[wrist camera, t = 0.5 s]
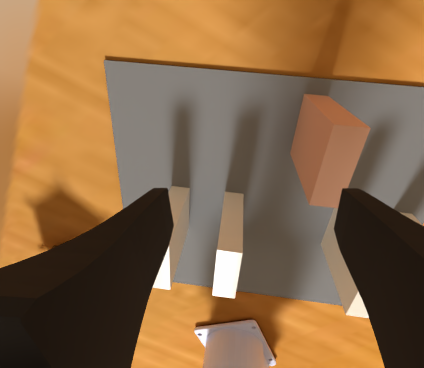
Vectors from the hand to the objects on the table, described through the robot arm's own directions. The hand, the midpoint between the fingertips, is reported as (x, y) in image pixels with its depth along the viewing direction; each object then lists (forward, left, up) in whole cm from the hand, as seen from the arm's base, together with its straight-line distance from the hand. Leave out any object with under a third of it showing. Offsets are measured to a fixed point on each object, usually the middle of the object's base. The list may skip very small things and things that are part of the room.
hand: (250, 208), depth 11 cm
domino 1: (-5, +8, -10) cm, 13 cm away
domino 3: (-1, -4, -10) cm, 11 cm away
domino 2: (-7, +4, -10) cm, 12 cm away
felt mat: (-7, +1, -10) cm, 12 cm away
